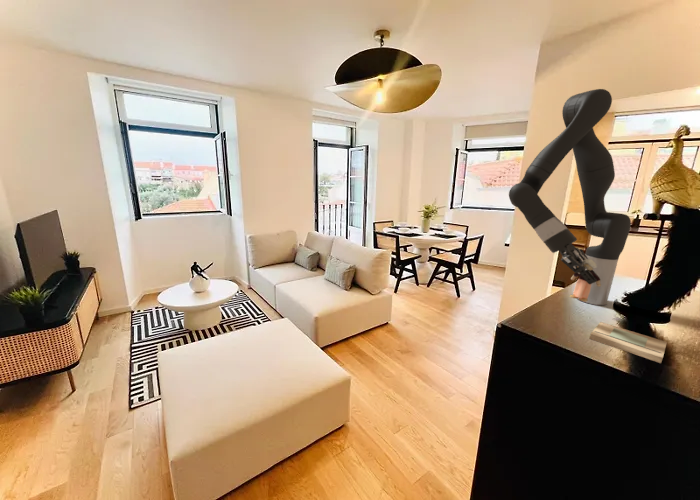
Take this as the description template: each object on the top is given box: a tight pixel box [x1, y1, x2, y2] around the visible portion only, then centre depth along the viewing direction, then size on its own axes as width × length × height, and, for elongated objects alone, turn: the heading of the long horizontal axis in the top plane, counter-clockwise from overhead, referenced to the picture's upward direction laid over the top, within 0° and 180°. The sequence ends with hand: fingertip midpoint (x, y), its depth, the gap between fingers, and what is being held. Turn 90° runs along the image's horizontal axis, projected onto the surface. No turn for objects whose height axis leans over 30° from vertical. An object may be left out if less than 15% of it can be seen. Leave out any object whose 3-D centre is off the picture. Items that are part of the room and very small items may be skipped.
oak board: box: [589, 321, 668, 364], centre depth 79 cm, size 12×14×2 cm
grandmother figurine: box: [569, 259, 601, 303], centre depth 86 cm, size 8×4×13 cm, turn 37°
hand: (594, 281), depth 85 cm, fingers closed on grandmother figurine, 2 cm apart
